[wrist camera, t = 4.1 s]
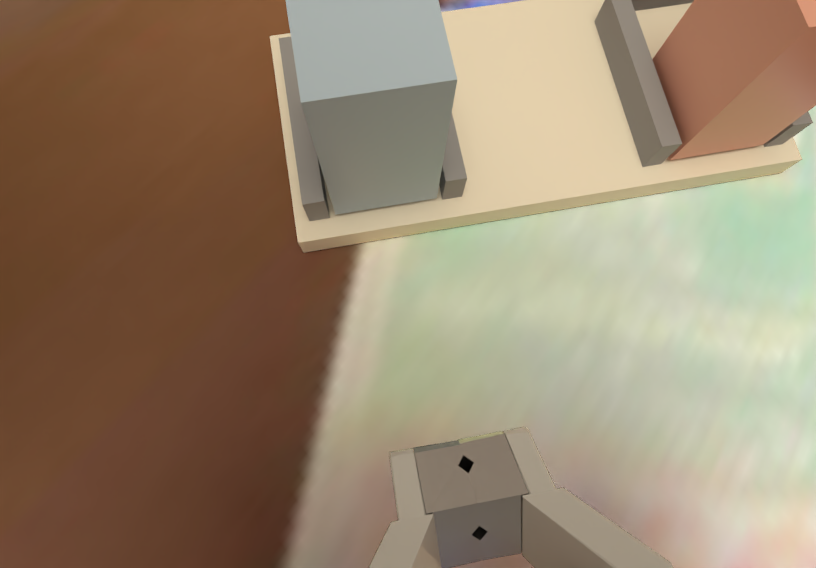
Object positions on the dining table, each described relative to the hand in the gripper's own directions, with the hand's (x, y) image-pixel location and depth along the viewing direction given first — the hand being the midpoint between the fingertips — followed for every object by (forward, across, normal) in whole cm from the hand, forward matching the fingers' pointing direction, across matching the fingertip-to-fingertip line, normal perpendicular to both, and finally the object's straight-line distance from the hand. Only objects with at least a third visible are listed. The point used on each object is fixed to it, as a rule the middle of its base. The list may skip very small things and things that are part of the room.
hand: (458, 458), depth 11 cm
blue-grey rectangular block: (+18, 0, -2) cm, 18 cm away
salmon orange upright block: (+18, -17, -2) cm, 25 cm away
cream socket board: (+21, -8, -2) cm, 22 cm away
